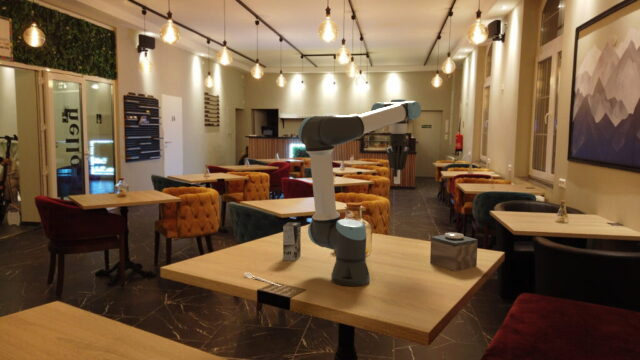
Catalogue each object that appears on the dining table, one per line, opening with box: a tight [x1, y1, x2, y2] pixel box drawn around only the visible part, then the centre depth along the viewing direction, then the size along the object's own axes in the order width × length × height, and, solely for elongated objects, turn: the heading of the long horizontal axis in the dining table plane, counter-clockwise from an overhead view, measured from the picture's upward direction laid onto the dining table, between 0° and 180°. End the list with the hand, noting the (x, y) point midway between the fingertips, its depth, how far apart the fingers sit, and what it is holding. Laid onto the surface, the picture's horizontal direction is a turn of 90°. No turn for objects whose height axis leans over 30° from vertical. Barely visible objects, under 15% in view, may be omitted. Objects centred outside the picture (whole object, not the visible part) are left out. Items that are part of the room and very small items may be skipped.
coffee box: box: [282, 221, 302, 262], centre depth 210 cm, size 9×6×16 cm
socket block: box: [429, 234, 479, 272], centre depth 201 cm, size 14×14×12 cm
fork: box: [243, 271, 282, 287], centre depth 178 cm, size 3×20×2 cm, turn 51°
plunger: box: [444, 232, 465, 240], centre depth 201 cm, size 8×8×13 cm
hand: (396, 183), depth 214 cm, fingers closed
